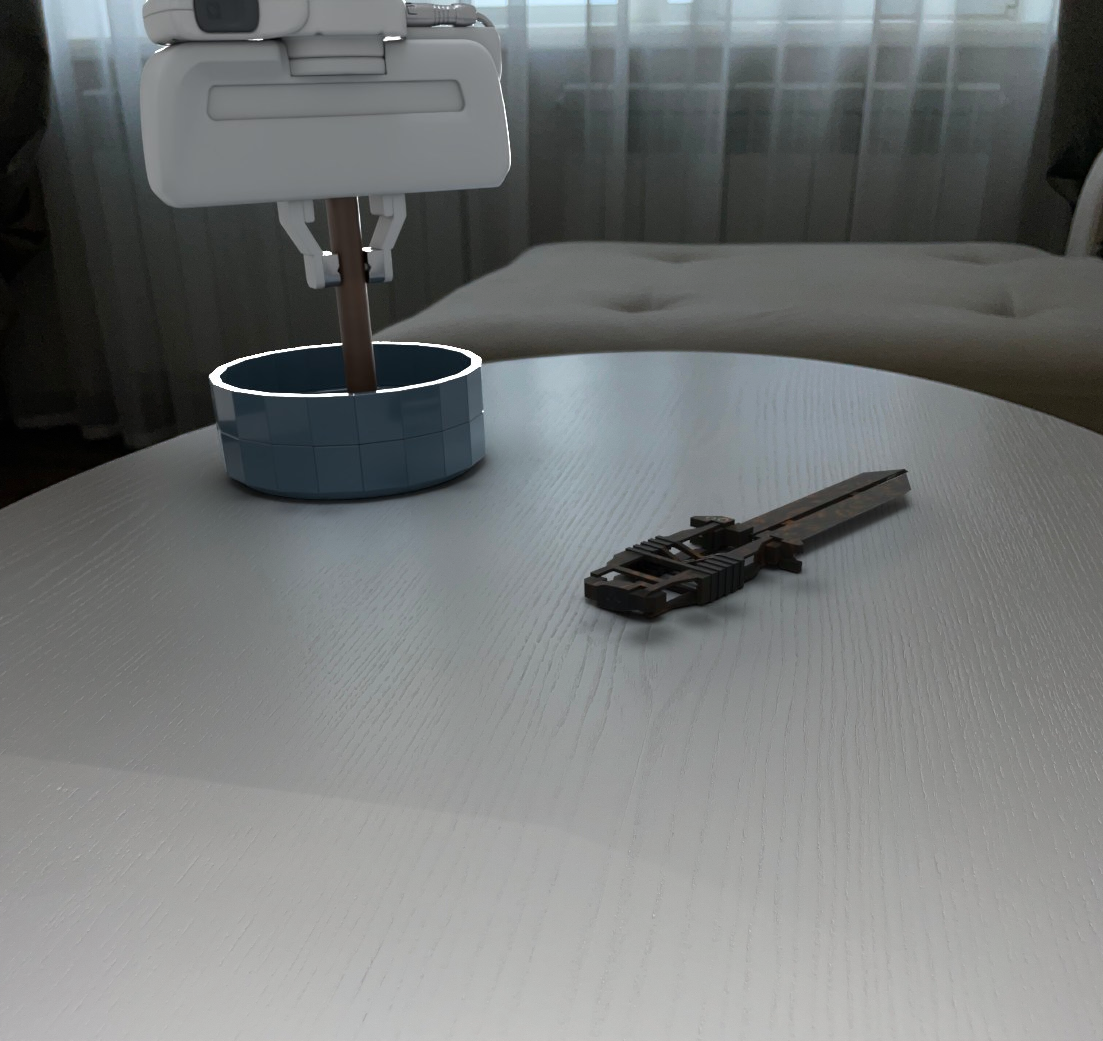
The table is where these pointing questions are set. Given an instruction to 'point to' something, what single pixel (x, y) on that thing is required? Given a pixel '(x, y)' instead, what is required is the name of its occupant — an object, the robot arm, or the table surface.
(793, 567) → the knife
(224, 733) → the table surface
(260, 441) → the bowl
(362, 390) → the stirrer
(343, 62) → the robot arm
